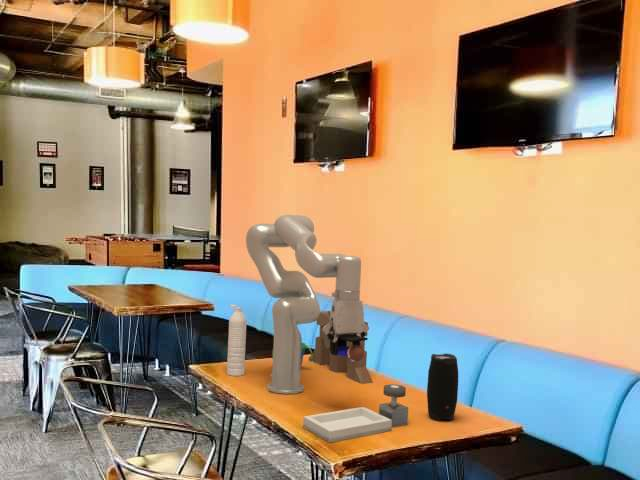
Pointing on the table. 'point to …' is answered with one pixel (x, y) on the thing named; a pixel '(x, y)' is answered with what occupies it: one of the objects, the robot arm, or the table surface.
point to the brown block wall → (337, 362)
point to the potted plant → (302, 352)
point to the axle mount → (394, 413)
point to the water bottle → (236, 343)
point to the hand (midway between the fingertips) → (344, 353)
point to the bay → (346, 424)
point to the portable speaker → (442, 386)
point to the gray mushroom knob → (394, 393)
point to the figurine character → (351, 352)
